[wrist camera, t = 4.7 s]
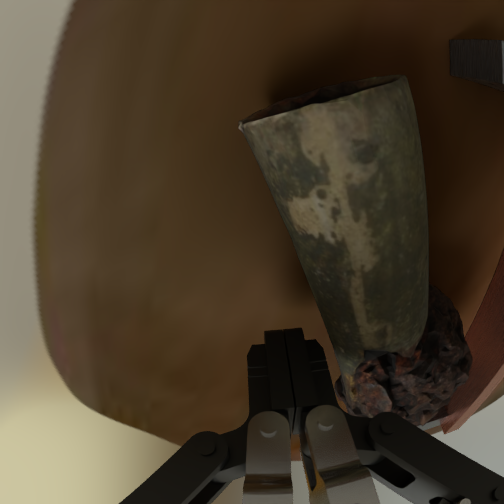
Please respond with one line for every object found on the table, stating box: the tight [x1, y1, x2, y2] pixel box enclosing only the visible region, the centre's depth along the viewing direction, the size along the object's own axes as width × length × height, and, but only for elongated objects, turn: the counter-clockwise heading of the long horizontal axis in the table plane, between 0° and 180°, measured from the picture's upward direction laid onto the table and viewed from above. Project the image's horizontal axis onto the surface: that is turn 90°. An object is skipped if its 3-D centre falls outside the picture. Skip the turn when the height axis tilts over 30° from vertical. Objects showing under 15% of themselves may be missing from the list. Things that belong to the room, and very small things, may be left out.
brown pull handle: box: [416, 39, 504, 434], centre depth 12 cm, size 8×24×4 cm, turn 3°
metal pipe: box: [239, 75, 473, 426], centre depth 11 cm, size 18×7×6 cm, turn 21°
